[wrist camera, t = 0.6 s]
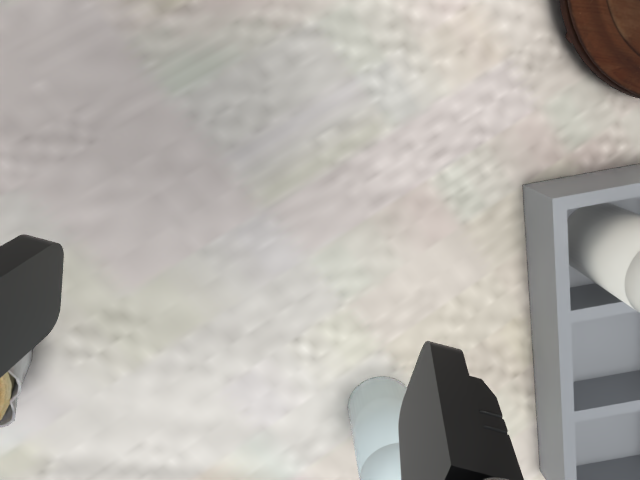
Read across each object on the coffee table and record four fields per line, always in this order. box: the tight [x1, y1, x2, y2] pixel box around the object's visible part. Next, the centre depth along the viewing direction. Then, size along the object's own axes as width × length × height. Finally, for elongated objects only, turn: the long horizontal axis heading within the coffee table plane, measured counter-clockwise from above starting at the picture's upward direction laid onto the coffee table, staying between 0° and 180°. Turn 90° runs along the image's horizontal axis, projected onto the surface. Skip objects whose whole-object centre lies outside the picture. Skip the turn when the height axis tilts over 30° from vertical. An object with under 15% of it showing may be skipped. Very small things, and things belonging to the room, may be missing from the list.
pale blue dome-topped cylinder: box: [348, 377, 407, 480], centre depth 33 cm, size 5×5×9 cm
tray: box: [523, 164, 640, 480], centre depth 35 cm, size 22×8×4 cm, turn 10°
